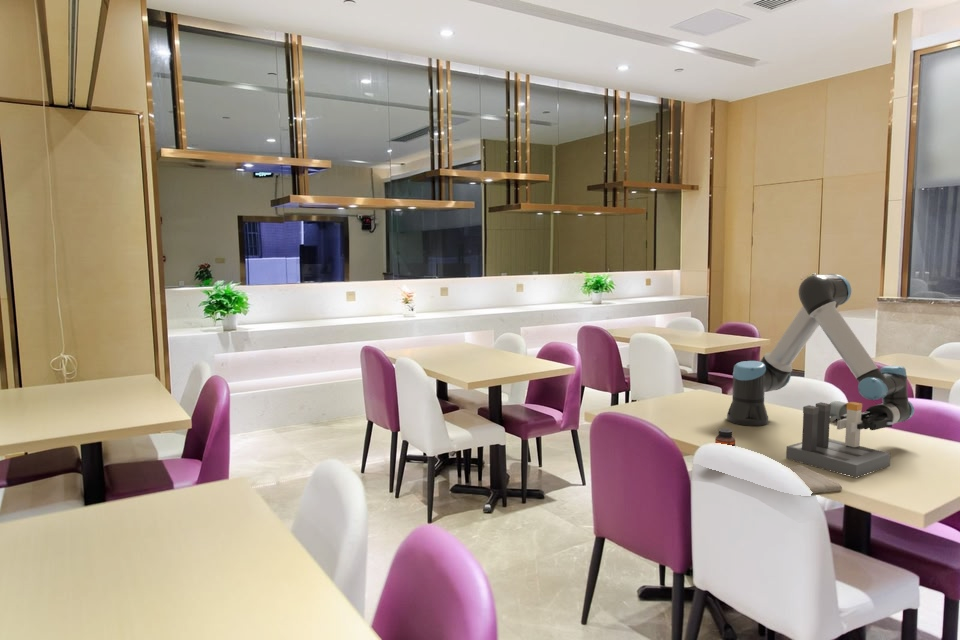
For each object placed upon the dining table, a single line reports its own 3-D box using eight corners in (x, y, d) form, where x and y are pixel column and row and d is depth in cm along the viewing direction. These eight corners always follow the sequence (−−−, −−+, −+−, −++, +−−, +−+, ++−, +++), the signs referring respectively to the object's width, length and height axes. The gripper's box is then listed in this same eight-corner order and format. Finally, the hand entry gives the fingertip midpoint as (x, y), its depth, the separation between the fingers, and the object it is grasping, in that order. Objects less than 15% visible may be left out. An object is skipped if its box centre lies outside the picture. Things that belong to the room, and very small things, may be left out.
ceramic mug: (841, 417, 256) (842, 398, 256) (856, 422, 248) (856, 403, 248) (817, 418, 255) (818, 400, 254) (831, 424, 247) (832, 404, 246)
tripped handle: (844, 445, 206) (846, 402, 204) (849, 443, 207) (852, 401, 206) (854, 447, 203) (857, 404, 201) (859, 445, 205) (862, 403, 203)
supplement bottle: (735, 463, 202) (736, 428, 200) (734, 469, 196) (735, 433, 195) (715, 460, 204) (716, 426, 203) (713, 466, 199) (714, 431, 198)
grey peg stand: (786, 458, 206) (788, 404, 204) (820, 447, 217) (822, 396, 215) (856, 478, 188) (859, 419, 186) (889, 465, 198) (893, 409, 196)
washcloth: (798, 471, 195) (799, 461, 195) (844, 492, 178) (844, 482, 177) (765, 474, 193) (765, 465, 192) (807, 496, 175) (808, 486, 175)
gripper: (907, 432, 207) (870, 444, 195) (856, 421, 221) (818, 432, 209) (908, 409, 207) (871, 420, 194) (857, 400, 220) (819, 409, 208)
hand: (844, 426), depth 201 cm, fingers closed on tripped handle, 3 cm apart
